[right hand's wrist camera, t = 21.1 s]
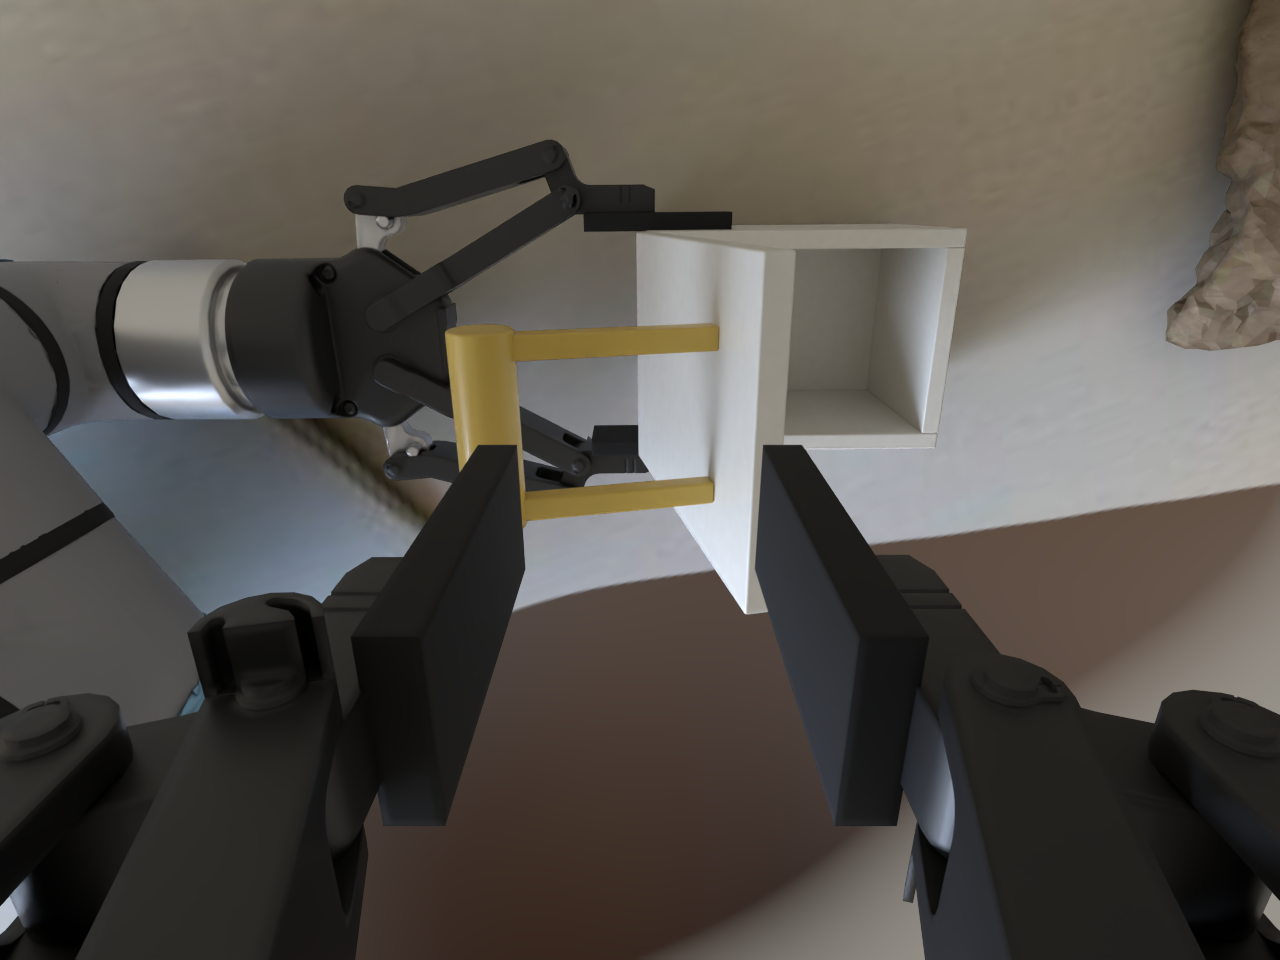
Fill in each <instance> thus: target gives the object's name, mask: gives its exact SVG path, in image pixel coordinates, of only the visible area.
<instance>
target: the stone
mask: <svg viewBox="0 0 1280 960" xmlns="http://www.w3.org/2000/svg"><path fill="white" fill-rule="evenodd" d="M1237 51H1238V60H1237V63H1236V66H1235V68H1236V72H1237V76H1238V81H1237V88H1236V94H1235V98H1234V100H1233V103H1232V106H1231V108H1230V110H1229V111H1228V113H1227V114H1226V130H1225V134H1224V139H1223V143H1222V147H1221V148H1220V150H1219V152H1218V156H1217V163H1216V168H1217V171H1218V172H1220V173H1222V174H1224V175H1226V176H1228V177H1230V178H1231V179H1232V183H1231V185H1230V187H1229V189H1228V191H1227V193H1226V206H1227V210H1226V211H1224V213H1223V214H1222V216H1221V218H1220V219H1219V221H1218V222H1217V224H1216V225H1215V227H1214V228H1213V230H1212V232H1211V235H1210V246H1211V247H1210V248H1209V249H1208V250H1207V251H1206V252H1205V253H1204V254H1203V257H1202V259H1201V260H1200V262H1199V264H1198V265H1197V267H1196V272H1197V284H1196V286H1195V287H1193V288H1192V289H1191V290H1190V291H1189V292H1188V293H1187V294H1186V295H1185V296H1183V297H1182V298H1181V299H1180V300H1179V301H1178V302H1176V303H1174V304H1173V305H1172V306H1171V307H1170V308H1169V309H1168V310H1167V318H1168V326H1167V330H1166V341H1168V342H1170V343H1173V344H1175V345H1178V346H1180V347H1183V348H1185V349H1203V350H1222V349H1231V348H1240V347H1249V346H1257V345H1261V344H1265V343H1269V342H1271V341H1274V340H1279V339H1280V0H1253V2H1252V4H1251V6H1250V10H1249V14H1248V16H1247V18H1246V19H1245V21H1244V22H1243V24H1242V26H1241V27H1240V29H1239V30H1238V46H1237Z"/></svg>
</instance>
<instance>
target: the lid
mask: <svg viewBox="0 0 1280 960" xmlns="http://www.w3.org/2000/svg"><path fill="white" fill-rule="evenodd" d="M636 249H637V326H630V327H607V328H584V329H561V330H538V331H515V332H514V330H513V328H512V327H509V326H505V325H494V324H481V325H466V326H459V327H454V328H451V329H448V330H446V332H445V340H446V349H447V359H448V368H449V378H450V387H451V396H452V406H453V415H454V424H455V434H456V443H457V453H458V462H459V471H461V470H462V468H463V467H464V465H465V464H466V462H467V461H468V459H469V458H470V456H471V455H472V453H473V452H474V450H475V449H476V447H477V446H478V445H517V452H518V467H519V482H520V497H521V512H522V527H523V528H524V527H525V526H526V524H527V521H531V520H542V519H552V518H563V517H573V516H584V515H594V514H605V513H615V512H626V511H636V510H647V509H657V508H667V507H674V509H675V510H676V512H677V513H678V515H679V516H680V518H681V519H682V521H683V522H684V524H685V525H686V527H687V528H688V530H689V531H690V533H691V534H692V536H693V537H694V539H695V540H696V542H697V543H698V545H699V546H700V547H701V549H702V550H703V552H704V553H705V555H706V556H707V558H708V559H709V561H710V562H711V564H712V565H713V567H714V568H715V570H716V571H717V573H718V574H719V576H720V577H721V579H722V580H723V582H724V583H725V585H726V586H727V588H728V589H729V591H730V592H731V594H732V595H733V597H734V598H735V600H736V601H737V603H738V604H739V606H740V607H741V609H742V610H743V612H744V613H745V614H754V613H761V612H768V610H767V607H766V603H765V600H764V597H763V594H762V591H761V587H760V584H759V581H758V578H757V575H756V571H755V557H756V542H757V527H758V512H759V497H760V482H761V467H762V452H763V445H783V444H784V429H785V414H786V398H787V383H788V368H789V353H790V338H791V323H792V308H793V293H794V278H795V262H796V251H795V250H790V249H783V248H775V247H767V246H760V245H752V244H744V243H736V242H729V241H721V240H713V239H706V238H698V237H690V236H682V235H675V234H667V233H659V232H637V234H636ZM630 355H638V442H639V456H640V458H641V459H642V461H643V462H644V464H645V465H646V467H647V468H648V470H649V471H650V473H651V474H652V476H653V477H654V479H655V480H656V481H646V482H634V483H623V484H611V485H600V486H588V487H577V488H565V489H554V490H543V491H531V492H526V491H525V477H524V463H523V449H522V436H521V422H520V408H519V394H518V380H517V366H516V361H533V360H553V359H572V358H592V357H611V356H630Z"/></svg>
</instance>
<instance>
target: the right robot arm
mask: <svg viewBox="0 0 1280 960" xmlns="http://www.w3.org/2000/svg"><path fill="white" fill-rule="evenodd" d="M524 571H525V557H524V542H523V527H522V512H521V497H520V482H519V467H518V452H517V445H478V446H477V447H476V449H475V450H474V452H473V453H472V455H471V456H470V458H469V459H468V461H467V462H466V464H465V465H464V467H463V468H462V470H461V471H460V473H459V474H458V476H457V477H456V479H455V480H454V482H453V483H452V485H451V486H450V488H449V489H448V491H447V492H446V494H445V495H444V497H443V498H442V500H441V501H440V503H439V504H438V506H437V507H436V509H435V510H434V512H433V513H432V515H431V516H430V518H429V519H428V521H427V522H426V524H425V525H424V527H423V528H422V530H421V531H420V533H419V534H418V536H417V537H416V539H415V540H414V542H413V543H412V545H411V546H410V548H409V549H408V551H407V553H406V554H405V556H404V557H371V558H370V559H368V560H367V561H365V562H363V563H362V564H360V565H359V566H357V567H355V568H354V569H352V570H351V571H349V572H347V573H346V574H345V575H344V576H343V578H342V579H341V580H340V582H339V583H338V584H337V585H336V587H335V588H334V589H333V590H332V592H331V596H328V597H327V598H326V599H325V601H324V602H323V603H322V604H321V603H320V602H318V601H317V600H316V599H315V598H313V597H312V596H308V595H303V594H299V593H294V592H290V593H268V594H263V595H258V596H253V597H248V598H244V599H241V600H238V601H236V602H233V603H230V604H227V605H225V606H222V607H220V608H218V609H216V610H215V611H213V612H211V613H209V614H208V615H206V616H204V617H203V618H201V619H200V620H199V621H198V622H197V623H196V624H195V625H194V626H193V627H192V628H191V629H190V630H189V631H188V632H187V635H188V639H189V642H190V646H191V650H192V653H193V657H194V661H195V664H196V668H197V672H198V675H199V679H200V683H201V686H202V690H203V694H204V697H205V698H204V700H203V702H202V704H201V706H200V708H199V710H198V712H194V713H190V714H186V715H182V716H177V717H172V718H167V719H162V720H157V721H152V722H147V723H142V724H137V725H132V726H127V727H126V724H125V721H124V718H123V715H122V712H121V709H120V706H119V704H118V703H116V702H115V701H114V700H113V699H111V698H110V697H109V696H104V695H98V694H91V693H85V694H76V695H67V696H59V697H54V698H50V699H47V701H44V700H42V701H39V702H36V703H33V704H30V705H28V706H26V707H24V708H23V709H21V710H19V711H17V712H14V713H12V714H10V715H8V716H6V717H3V718H1V719H0V906H1V905H2V904H3V903H4V902H5V900H6V899H7V898H8V897H9V896H10V898H11V901H12V903H13V905H14V907H15V909H16V912H17V914H18V916H17V918H16V919H15V920H14V921H13V922H12V923H11V925H10V926H9V927H8V928H7V929H6V930H5V931H4V932H3V933H2V934H0V960H355V956H356V948H357V940H358V932H359V924H360V916H361V908H362V900H363V892H364V884H365V877H366V869H367V861H368V848H367V841H366V835H365V830H364V824H363V823H364V820H365V818H366V816H367V814H368V812H369V809H370V807H371V805H372V803H373V800H374V798H375V796H376V794H377V792H378V798H379V804H380V810H381V815H382V821H383V826H445V824H446V821H447V818H448V815H449V812H450V808H451V805H452V802H453V799H454V796H455V792H456V789H457V786H458V783H459V779H460V776H461V773H462V770H463V767H464V764H465V760H466V757H467V754H468V751H469V747H470V744H471V741H472V738H473V735H474V732H475V728H476V725H477V722H478V719H479V715H480V712H481V709H482V706H483V703H484V700H485V696H486V693H487V690H488V687H489V683H490V680H491V677H492V674H493V671H494V667H495V664H496V661H497V658H498V655H499V651H500V648H501V645H502V642H503V639H504V635H505V632H506V629H507V626H508V622H509V619H510V616H511V613H512V610H513V607H514V603H515V600H516V597H517V594H518V591H519V587H520V584H521V581H522V578H523V575H524ZM755 571H756V575H757V578H758V581H759V584H760V587H761V591H762V594H763V597H764V600H765V603H766V607H767V610H768V613H769V616H770V619H771V622H772V626H773V629H774V632H775V635H776V639H777V642H778V645H779V648H780V651H781V655H782V658H783V661H784V664H785V667H786V671H787V674H788V677H789V680H790V683H791V687H792V690H793V693H794V696H795V700H796V703H797V706H798V709H799V712H800V716H801V719H802V722H803V725H804V728H805V732H806V735H807V738H808V741H809V744H810V748H811V751H812V754H813V757H814V760H815V764H816V767H817V770H818V773H819V776H820V780H821V783H822V786H823V789H824V792H825V796H826V799H827V802H828V805H829V808H830V812H831V815H832V818H833V821H834V824H835V826H897V821H898V815H899V810H900V804H901V798H902V792H903V790H904V792H905V794H906V797H907V799H908V801H909V803H910V806H911V808H912V810H913V812H914V814H915V817H916V819H917V825H916V830H915V835H914V840H913V846H912V851H911V856H910V862H909V867H908V872H907V878H906V883H905V890H904V897H903V901H906V902H911V903H913V899H914V894H915V889H916V891H917V898H918V907H919V914H920V922H921V930H922V938H923V946H924V954H925V960H1280V931H1279V930H1278V929H1277V928H1276V927H1275V926H1274V925H1273V924H1272V922H1271V921H1270V920H1269V919H1268V918H1267V917H1266V916H1265V914H1264V913H1263V912H1264V909H1265V907H1266V905H1267V903H1268V900H1269V898H1270V896H1271V894H1272V893H1273V894H1274V895H1275V896H1276V897H1277V898H1278V899H1279V900H1280V715H1279V714H1277V713H1275V712H1272V711H1270V710H1268V709H1266V708H1263V707H1261V706H1259V705H1258V704H1256V703H1254V702H1252V701H1249V700H1246V699H1243V698H1240V697H1237V698H1236V697H1234V696H1233V695H1229V694H1224V693H1217V692H1208V691H1199V690H1188V691H1181V692H1174V693H1172V694H1171V695H1169V696H1168V697H1167V698H1166V699H1164V700H1163V701H1162V703H1161V706H1160V709H1159V712H1158V715H1157V718H1156V721H1155V723H1150V722H1145V721H1140V720H1134V719H1130V718H1125V717H1119V716H1114V715H1109V714H1104V713H1099V712H1095V711H1091V710H1087V709H1084V708H1081V707H1080V705H1079V703H1078V701H1077V699H1076V697H1075V696H1074V695H1073V693H1072V692H1071V691H1070V690H1069V688H1068V687H1067V686H1066V685H1065V683H1064V682H1063V681H1061V680H1060V679H1058V678H1057V677H1055V676H1054V675H1052V674H1051V673H1050V672H1048V671H1047V670H1045V669H1043V668H1041V667H1039V666H1036V665H1034V664H1032V663H1029V662H1027V661H1025V660H1022V659H1019V658H1015V657H1011V656H1006V655H1002V654H1000V653H999V651H998V650H997V649H996V648H995V646H994V645H993V644H992V643H991V641H990V640H989V639H988V638H987V636H986V635H985V634H984V633H983V631H982V630H981V629H980V628H979V626H978V625H977V624H976V623H975V621H974V620H973V619H972V617H971V616H970V615H969V614H968V612H967V611H966V610H965V609H962V607H961V604H960V602H959V601H958V600H957V599H956V597H955V596H954V595H953V594H952V593H949V589H948V587H947V586H946V585H945V584H944V582H943V581H942V580H941V579H940V577H939V576H938V575H937V574H936V572H935V571H934V570H932V569H931V568H929V567H927V566H926V565H924V564H922V563H921V562H919V561H918V560H916V559H914V558H913V557H911V556H909V555H875V554H874V553H873V551H872V550H871V548H870V546H869V545H868V543H867V542H866V540H865V539H864V537H863V536H862V534H861V533H860V531H859V530H858V528H857V527H856V525H855V524H854V522H853V521H852V519H851V518H850V516H849V515H848V513H847V512H846V510H845V509H844V507H843V506H842V504H841V503H840V501H839V500H838V498H837V497H836V495H835V494H834V492H833V491H832V489H831V488H830V486H829V485H828V483H827V482H826V480H825V479H824V477H823V476H822V474H821V473H820V471H819V470H818V468H817V467H816V465H815V464H814V462H813V461H812V459H811V458H810V456H809V455H808V453H807V452H806V450H805V449H804V447H803V446H802V445H763V452H762V467H761V482H760V497H759V512H758V527H757V542H756V557H755Z"/></svg>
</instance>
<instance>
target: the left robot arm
mask: <svg viewBox="0 0 1280 960" xmlns="http://www.w3.org/2000/svg"><path fill="white" fill-rule="evenodd" d="M544 177H545V178H546V180H547V183H548V185H549V188H550V190H551V193H550V194H549V195H547V196H545V197H544V198H542V199H541V200H539V201H538V202H536V203H534V204H533V205H531V206H530V207H528V208H526V209H525V210H523V211H522V212H520V213H519V214H517V215H515V216H514V217H512V218H511V219H509V220H507V221H506V222H504V223H503V224H501V225H499V226H498V227H496V228H495V229H493V230H492V231H490V232H488V233H487V234H485V235H484V236H482V237H480V238H479V239H477V240H476V241H474V242H473V243H471V244H469V245H468V246H466V247H465V248H463V249H461V250H460V251H458V252H457V253H455V254H454V255H452V256H450V257H449V258H447V259H446V260H444V261H442V262H440V263H438V264H436V265H435V266H433V267H431V268H430V269H428V270H427V271H425V272H423V273H422V274H421V273H420V272H418V271H417V270H415V269H414V268H412V267H411V266H409V265H408V264H407V263H405V262H404V261H402V260H401V259H399V258H398V257H396V256H395V255H393V254H392V253H390V252H389V251H387V250H386V249H385V243H386V241H387V239H388V238H389V237H391V236H392V235H396V234H400V233H402V232H403V231H404V230H405V228H406V226H407V217H409V216H420V215H425V214H429V213H433V212H436V211H439V210H442V209H446V208H449V207H452V206H455V205H458V204H462V203H465V202H468V201H471V200H474V199H477V198H481V197H484V196H487V195H490V194H493V193H497V192H500V191H503V190H506V189H509V188H512V187H516V186H519V185H522V184H525V183H528V182H531V181H535V180H538V179H541V178H544ZM344 202H345V205H346V207H347V208H348V210H350V211H351V212H352V213H354V214H355V226H356V241H357V249H355V250H353V251H351V252H350V253H348V254H347V255H345V256H343V257H341V258H304V259H256V260H253V261H251V262H249V263H248V264H247V263H245V262H242V261H240V260H238V259H219V260H150V261H136V262H56V261H46V262H14V261H13V260H7V259H0V719H1V718H3V717H6V716H8V715H10V714H12V713H14V712H17V711H19V710H21V709H23V708H24V707H26V706H28V705H30V704H33V703H36V702H39V701H42V700H44V701H47V699H50V698H54V697H59V696H67V695H76V694H85V693H91V694H98V695H104V696H109V697H110V698H111V699H113V700H114V701H115V702H116V703H118V704H119V706H120V709H121V712H122V715H123V718H124V721H125V724H126V727H127V726H132V725H137V724H142V723H147V722H152V721H157V720H162V719H167V718H172V717H177V716H182V715H186V714H190V713H194V712H198V710H199V708H200V706H201V704H202V702H203V700H204V698H205V697H204V694H203V690H202V686H201V683H200V679H199V675H198V672H197V668H196V664H195V661H194V657H193V653H192V650H191V646H190V642H189V639H188V635H187V632H188V631H189V630H190V629H191V628H192V627H193V626H194V625H195V624H196V623H197V622H198V621H199V620H200V619H201V618H203V617H204V616H206V614H205V613H202V612H201V611H200V610H199V609H198V608H197V607H196V606H195V605H194V604H193V602H192V601H191V600H190V599H189V598H188V597H187V596H186V595H185V594H184V593H183V592H182V590H181V589H180V588H179V587H178V586H177V585H176V584H175V583H174V582H173V581H172V580H171V578H170V577H169V576H168V575H167V574H166V573H165V572H164V571H163V570H162V569H161V568H160V566H159V565H158V564H157V563H156V562H155V561H154V560H153V559H152V558H151V557H150V556H149V554H148V553H147V552H146V551H145V550H144V549H143V548H142V547H141V546H140V545H139V544H138V542H137V541H136V540H135V539H134V538H133V537H132V536H131V535H130V534H129V533H128V532H127V530H126V529H125V528H124V527H123V526H122V525H121V524H120V523H119V522H118V521H117V520H116V518H115V516H114V514H113V513H112V512H111V510H110V509H109V508H108V507H107V506H106V505H105V504H104V503H103V501H102V500H101V499H100V497H99V496H98V495H97V494H96V493H95V492H94V490H93V489H92V488H91V487H90V486H89V485H88V484H87V482H86V481H85V480H84V479H83V478H82V477H81V475H80V474H79V473H78V472H77V471H76V470H75V468H74V467H73V466H72V465H71V464H70V463H69V462H68V460H67V459H66V458H65V457H64V456H63V455H62V453H61V452H60V451H59V450H58V449H57V448H56V446H55V445H54V444H53V443H52V442H51V441H50V440H49V438H48V437H47V436H48V435H51V434H53V433H56V432H58V431H61V430H63V429H66V428H69V427H71V426H74V425H77V424H81V423H87V422H94V421H110V420H148V419H257V418H260V417H263V416H264V415H266V416H268V417H271V418H277V419H286V418H351V417H356V418H362V419H366V420H369V421H371V422H373V423H375V424H377V425H379V426H382V427H383V431H384V436H385V440H386V444H387V449H388V453H389V458H388V459H387V460H386V462H385V463H384V465H383V471H384V473H385V475H386V476H387V477H388V478H390V479H392V480H409V479H421V478H435V479H439V480H443V481H447V482H451V483H453V482H454V480H455V479H456V477H457V476H458V474H459V473H460V471H459V462H458V453H457V443H453V442H448V441H433V440H432V438H431V436H430V435H429V434H428V433H426V432H424V431H418V430H415V429H413V428H412V427H411V426H410V425H409V423H408V421H407V419H408V418H410V417H411V416H412V415H413V414H415V413H416V412H417V411H419V410H420V409H421V408H422V407H424V406H427V407H429V408H431V409H433V410H435V411H437V412H439V413H441V414H443V415H445V416H448V417H450V418H454V415H453V406H452V396H451V387H450V378H449V368H448V359H447V349H446V340H445V332H446V330H448V329H451V328H454V327H456V322H457V314H456V304H455V303H452V301H451V299H450V297H449V296H448V294H449V293H450V292H452V291H454V290H455V289H457V288H458V287H460V286H462V285H463V284H465V283H466V282H468V281H469V280H471V279H472V278H474V277H476V276H477V275H479V274H480V273H482V272H484V271H485V270H487V269H488V268H490V267H492V266H493V265H495V264H497V263H498V262H500V261H501V260H503V259H505V258H506V257H508V256H509V255H511V254H513V253H514V252H516V251H517V250H519V249H521V248H522V247H524V246H526V245H527V244H529V243H530V242H532V241H534V240H535V239H537V238H538V237H540V236H542V235H543V234H545V233H547V232H548V231H550V230H551V229H553V228H555V227H556V226H558V225H559V224H561V223H563V222H564V221H566V220H567V219H569V218H571V217H572V216H574V215H576V214H584V232H596V231H647V230H732V212H655V189H652V188H650V187H648V186H645V185H586V184H583V183H582V182H581V181H580V180H579V179H578V178H577V176H576V174H575V172H574V169H573V166H572V164H571V161H570V158H569V154H568V152H567V150H566V149H565V148H564V147H563V146H562V145H561V144H559V143H558V142H557V141H554V140H545V141H542V142H539V143H536V144H533V145H529V146H526V147H523V148H520V149H517V150H514V151H511V152H508V153H504V154H501V155H498V156H495V157H492V158H489V159H486V160H482V161H479V162H476V163H473V164H470V165H467V166H464V167H461V168H457V169H454V170H451V171H448V172H445V173H442V174H439V175H436V176H432V177H429V178H426V179H423V180H420V181H417V182H414V183H411V184H407V185H404V186H401V187H398V188H386V187H373V186H360V185H355V186H351V187H349V188H348V189H347V190H346V192H345V194H344ZM519 408H520V422H521V436H522V449H523V450H524V451H526V452H528V453H530V454H532V455H534V456H536V457H538V458H540V459H542V460H544V461H546V462H548V463H550V464H552V465H554V466H556V467H558V468H556V467H552V466H548V465H543V464H539V463H535V462H531V461H527V460H523V463H524V477H525V491H526V492H531V491H543V490H554V489H565V488H577V487H584V485H585V482H586V480H587V479H588V478H589V477H590V476H592V475H594V474H598V473H646V472H649V470H648V468H647V467H646V465H645V464H644V462H643V461H642V459H641V458H640V456H639V442H638V425H597V426H594V431H593V436H592V439H591V438H590V437H589V436H588V438H587V440H585V439H583V438H581V437H580V436H578V435H576V434H574V433H572V432H570V431H568V430H566V429H564V428H562V427H560V426H558V425H556V424H554V423H552V422H550V421H548V420H546V419H544V418H542V417H540V416H538V415H536V414H534V413H532V412H531V411H529V410H527V409H525V408H523V407H521V406H519Z"/></svg>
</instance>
